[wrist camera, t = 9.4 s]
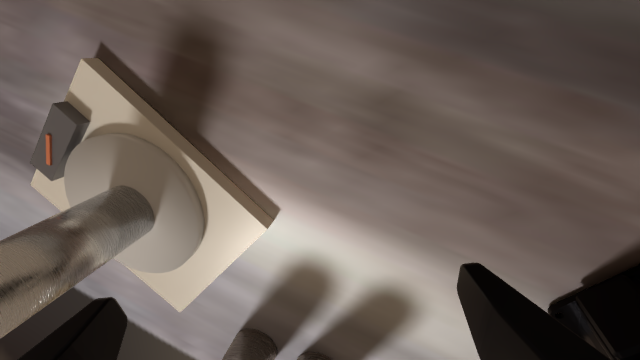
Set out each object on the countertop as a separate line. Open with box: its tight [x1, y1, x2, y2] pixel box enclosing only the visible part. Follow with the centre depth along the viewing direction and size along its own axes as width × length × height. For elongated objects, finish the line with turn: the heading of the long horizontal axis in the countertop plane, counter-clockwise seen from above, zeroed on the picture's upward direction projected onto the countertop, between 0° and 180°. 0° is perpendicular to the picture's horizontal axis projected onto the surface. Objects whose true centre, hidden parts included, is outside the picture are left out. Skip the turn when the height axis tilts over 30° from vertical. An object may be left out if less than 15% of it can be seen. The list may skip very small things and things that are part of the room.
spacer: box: [0, 185, 155, 338], centre depth 18 cm, size 4×4×11 cm
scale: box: [30, 58, 274, 312], centre depth 24 cm, size 16×13×2 cm
